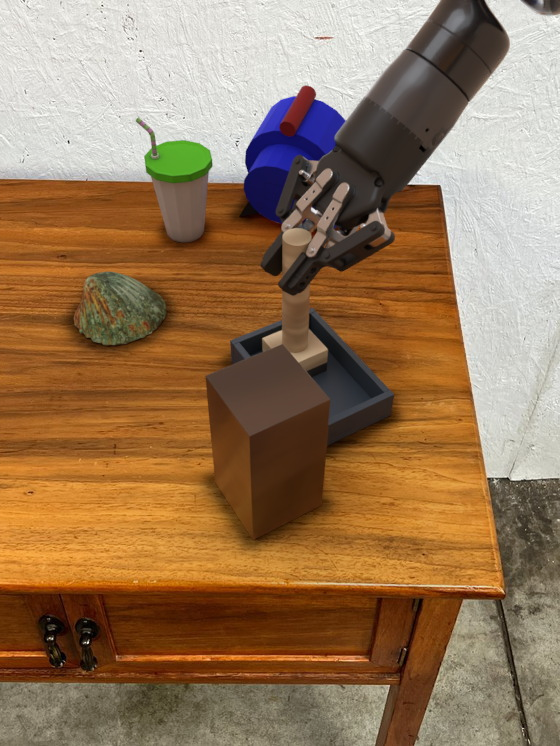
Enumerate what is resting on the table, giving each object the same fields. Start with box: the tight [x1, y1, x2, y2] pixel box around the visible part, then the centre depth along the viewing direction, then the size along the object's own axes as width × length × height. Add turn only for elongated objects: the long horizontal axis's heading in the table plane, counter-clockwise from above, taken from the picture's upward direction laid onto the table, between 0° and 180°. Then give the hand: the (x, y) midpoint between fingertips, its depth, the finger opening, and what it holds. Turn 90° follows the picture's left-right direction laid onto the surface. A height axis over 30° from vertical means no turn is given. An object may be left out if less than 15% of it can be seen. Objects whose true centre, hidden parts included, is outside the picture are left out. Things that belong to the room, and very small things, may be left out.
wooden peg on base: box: [262, 228, 328, 377], centre depth 74 cm, size 5×5×16 cm
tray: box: [229, 307, 395, 447], centre depth 77 cm, size 14×10×3 cm
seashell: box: [73, 271, 168, 347], centre depth 84 cm, size 10×4×10 cm
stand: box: [205, 344, 330, 541], centre depth 64 cm, size 7×7×14 cm
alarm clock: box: [239, 85, 347, 232], centre depth 94 cm, size 12×12×15 cm
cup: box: [135, 116, 213, 244], centre depth 91 cm, size 8×8×15 cm
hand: (277, 280), depth 70 cm, fingers closed on wooden peg on base, 2 cm apart
